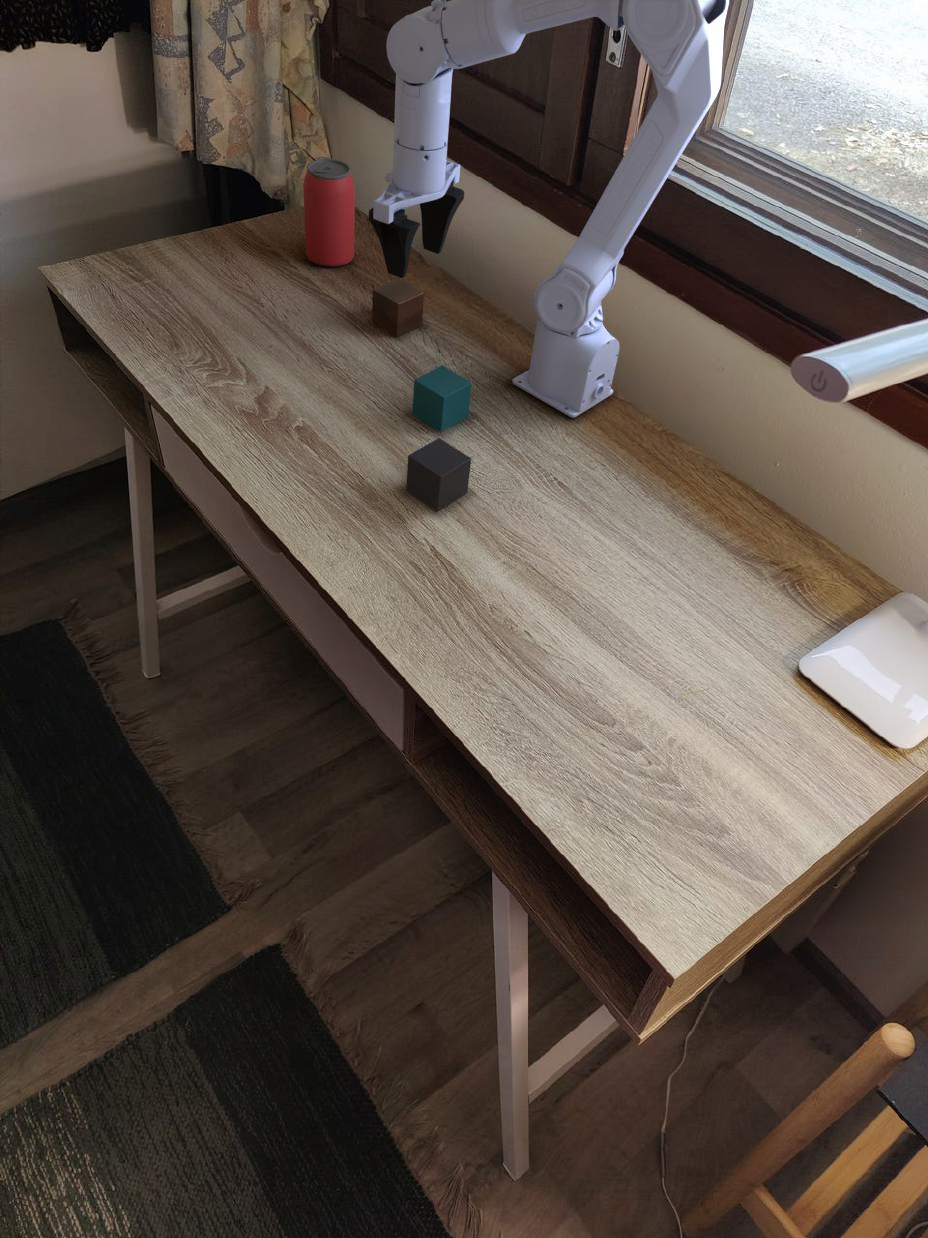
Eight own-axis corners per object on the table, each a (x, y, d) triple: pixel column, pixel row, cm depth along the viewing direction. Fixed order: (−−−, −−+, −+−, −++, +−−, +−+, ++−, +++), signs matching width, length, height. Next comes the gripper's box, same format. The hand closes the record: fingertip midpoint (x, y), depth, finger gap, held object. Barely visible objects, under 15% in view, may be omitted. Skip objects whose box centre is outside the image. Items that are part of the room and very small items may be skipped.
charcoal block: (467, 493, 98) (471, 458, 95) (437, 512, 96) (440, 476, 93) (436, 472, 100) (439, 437, 97) (405, 490, 98) (407, 455, 95)
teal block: (468, 416, 108) (472, 382, 104) (440, 432, 105) (444, 397, 102) (439, 399, 109) (442, 364, 106) (411, 414, 107) (413, 379, 104)
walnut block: (422, 325, 120) (424, 292, 117) (396, 337, 118) (398, 303, 114) (397, 311, 122) (398, 277, 119) (371, 322, 120) (372, 289, 116)
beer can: (296, 252, 130) (293, 161, 121) (338, 242, 133) (337, 153, 124) (321, 273, 127) (319, 181, 118) (363, 262, 130) (364, 172, 121)
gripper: (426, 111, 107) (419, 230, 117) (349, 149, 98) (350, 274, 108) (480, 128, 105) (469, 248, 115) (407, 168, 96) (402, 294, 106)
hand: (414, 262), depth 111 cm, fingers open, 7 cm apart
